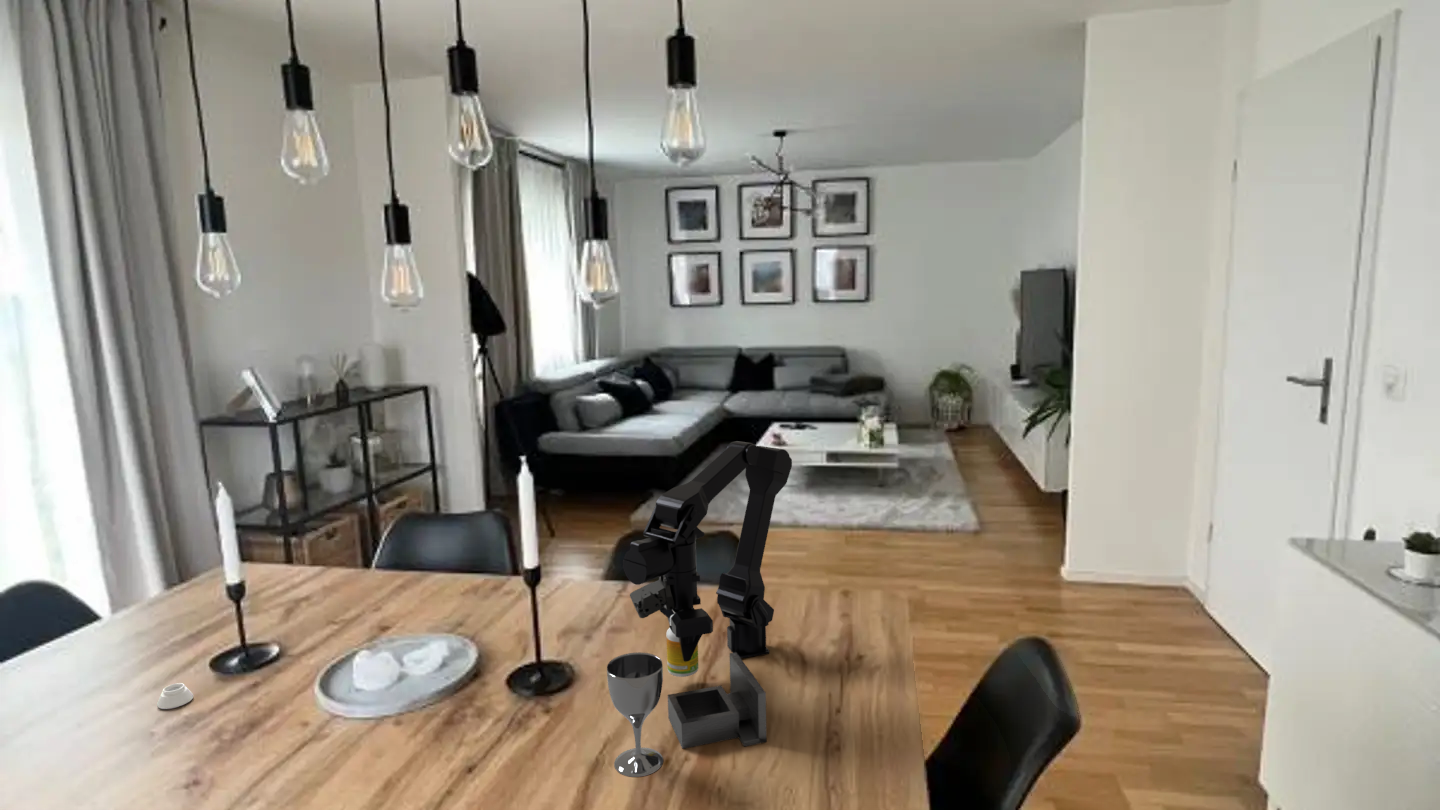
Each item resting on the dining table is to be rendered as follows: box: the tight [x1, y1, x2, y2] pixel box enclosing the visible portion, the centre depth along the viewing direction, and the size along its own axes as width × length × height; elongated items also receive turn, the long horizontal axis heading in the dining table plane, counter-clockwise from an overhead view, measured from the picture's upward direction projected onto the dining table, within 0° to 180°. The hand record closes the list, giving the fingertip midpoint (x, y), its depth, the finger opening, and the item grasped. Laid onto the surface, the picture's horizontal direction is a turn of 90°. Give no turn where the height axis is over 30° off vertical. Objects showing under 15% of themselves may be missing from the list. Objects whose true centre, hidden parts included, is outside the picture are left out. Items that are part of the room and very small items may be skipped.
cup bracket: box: [667, 652, 767, 750], centre depth 121 cm, size 12×14×8 cm
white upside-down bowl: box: [156, 682, 194, 710], centre depth 133 cm, size 5×3×5 cm
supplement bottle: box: [665, 614, 699, 678], centre depth 134 cm, size 5×5×10 cm
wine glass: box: [606, 652, 664, 778], centre depth 112 cm, size 8×8×15 cm
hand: (682, 653), depth 134 cm, fingers closed on supplement bottle, 5 cm apart
